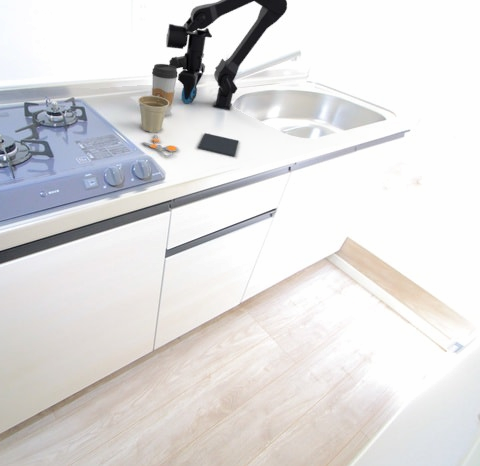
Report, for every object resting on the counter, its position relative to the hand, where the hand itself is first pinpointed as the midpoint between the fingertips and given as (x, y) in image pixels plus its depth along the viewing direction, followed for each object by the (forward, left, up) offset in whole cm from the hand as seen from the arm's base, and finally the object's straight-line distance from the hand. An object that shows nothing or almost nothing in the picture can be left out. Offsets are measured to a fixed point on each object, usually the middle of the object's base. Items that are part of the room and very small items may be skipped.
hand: (188, 96), depth 124 cm
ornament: (0, 0, -3) cm, 3 cm away
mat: (+31, +17, -3) cm, 35 cm away
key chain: (+41, +1, -3) cm, 41 cm away
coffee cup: (+16, -6, -3) cm, 17 cm away
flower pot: (+30, -5, -3) cm, 31 cm away
